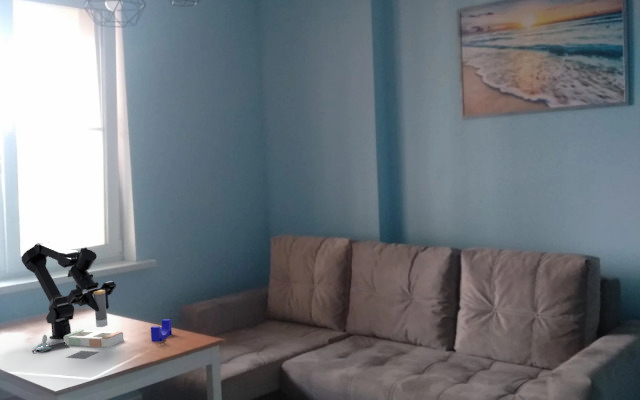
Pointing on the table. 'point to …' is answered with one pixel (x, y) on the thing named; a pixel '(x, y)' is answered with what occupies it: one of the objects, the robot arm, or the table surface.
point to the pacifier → (43, 345)
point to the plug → (100, 308)
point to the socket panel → (93, 338)
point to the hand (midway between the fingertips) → (103, 309)
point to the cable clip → (161, 331)
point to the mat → (82, 354)
